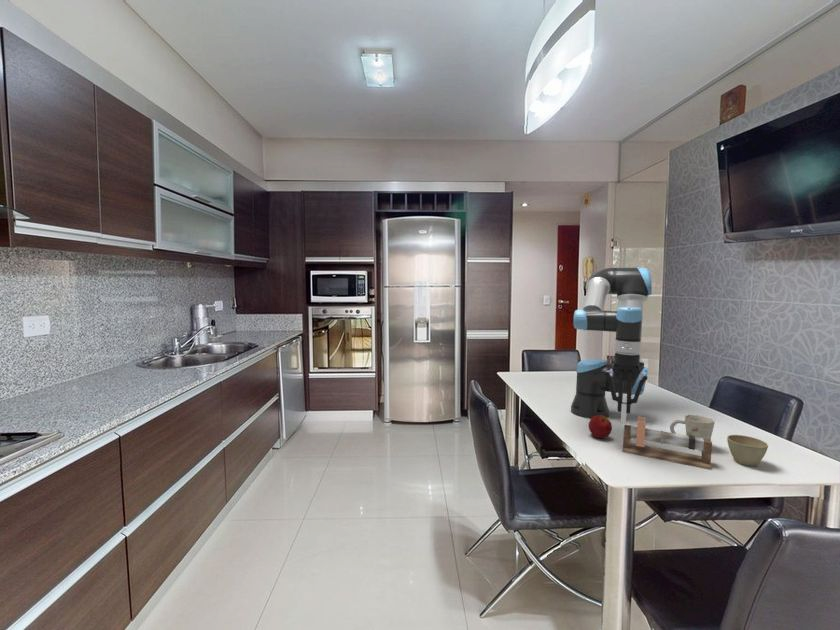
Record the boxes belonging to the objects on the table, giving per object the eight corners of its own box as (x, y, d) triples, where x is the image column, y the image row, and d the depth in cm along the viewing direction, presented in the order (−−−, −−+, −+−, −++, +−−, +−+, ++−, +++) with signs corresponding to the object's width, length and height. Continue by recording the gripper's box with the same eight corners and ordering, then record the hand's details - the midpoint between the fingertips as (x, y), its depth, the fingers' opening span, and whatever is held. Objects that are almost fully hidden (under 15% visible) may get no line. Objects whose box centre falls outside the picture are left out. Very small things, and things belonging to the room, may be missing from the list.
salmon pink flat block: (635, 445, 131) (637, 421, 130) (636, 439, 136) (637, 416, 136) (644, 447, 130) (645, 423, 129) (644, 440, 135) (646, 417, 135)
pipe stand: (622, 451, 132) (623, 429, 132) (623, 443, 139) (625, 422, 139) (711, 469, 120) (713, 444, 120) (708, 459, 127) (709, 436, 127)
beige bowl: (717, 456, 130) (719, 434, 130) (745, 455, 131) (747, 434, 130) (744, 470, 120) (746, 447, 120) (775, 469, 121) (777, 446, 120)
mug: (713, 453, 132) (715, 424, 131) (668, 445, 138) (670, 417, 138) (711, 445, 139) (713, 417, 138) (668, 437, 145) (670, 411, 145)
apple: (588, 439, 143) (589, 417, 142) (588, 431, 150) (589, 411, 149) (612, 443, 140) (613, 420, 139) (610, 435, 147) (611, 413, 147)
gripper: (604, 352, 134) (601, 421, 135) (649, 356, 127) (645, 429, 129) (607, 349, 140) (603, 415, 142) (649, 353, 133) (645, 422, 135)
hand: (623, 421), depth 135 cm, fingers closed
